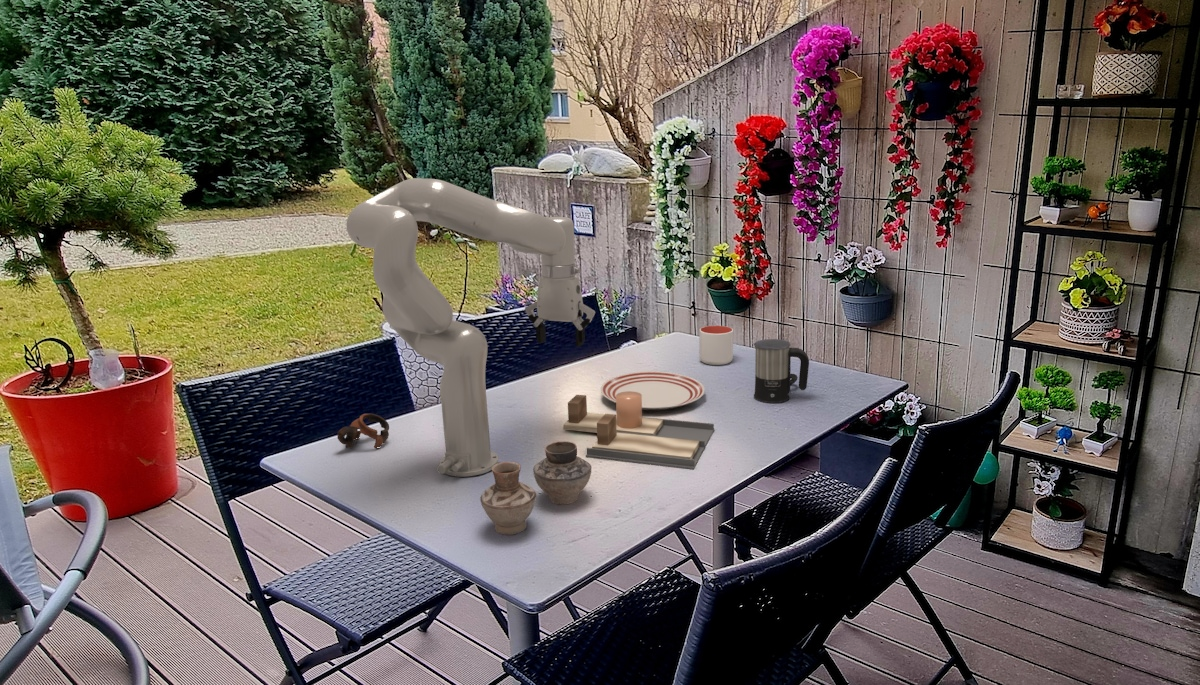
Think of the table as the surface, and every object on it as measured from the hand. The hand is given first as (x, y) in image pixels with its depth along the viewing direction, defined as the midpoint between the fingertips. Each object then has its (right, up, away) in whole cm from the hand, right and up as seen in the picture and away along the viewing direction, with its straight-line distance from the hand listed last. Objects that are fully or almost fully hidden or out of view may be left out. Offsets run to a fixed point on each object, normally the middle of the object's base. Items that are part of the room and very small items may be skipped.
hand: (560, 343), depth 181 cm
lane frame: (+21, -23, -6) cm, 31 cm away
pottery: (-2, -32, -35) cm, 47 cm away
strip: (+19, -24, -10) cm, 32 cm away
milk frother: (+56, -13, +24) cm, 62 cm away
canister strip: (+12, -20, +3) cm, 24 cm away
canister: (+16, -19, +1) cm, 25 cm away
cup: (+44, -6, +53) cm, 69 cm away
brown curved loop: (-46, -24, -1) cm, 52 cm away
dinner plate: (+23, -15, +24) cm, 36 cm away
